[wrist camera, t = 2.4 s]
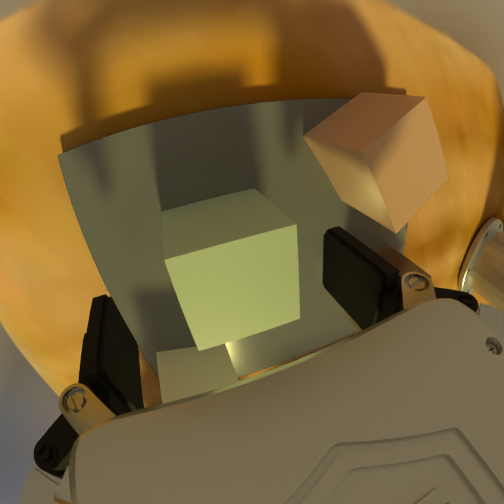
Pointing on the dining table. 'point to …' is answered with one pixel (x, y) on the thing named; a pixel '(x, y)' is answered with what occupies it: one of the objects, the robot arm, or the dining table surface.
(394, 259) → the walnut cube
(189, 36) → the dining table surface
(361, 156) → the terracotta cube
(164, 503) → the robot arm
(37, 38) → the dining table surface
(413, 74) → the dining table surface
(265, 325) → the sage cube
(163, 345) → the slate board
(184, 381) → the cream cube
